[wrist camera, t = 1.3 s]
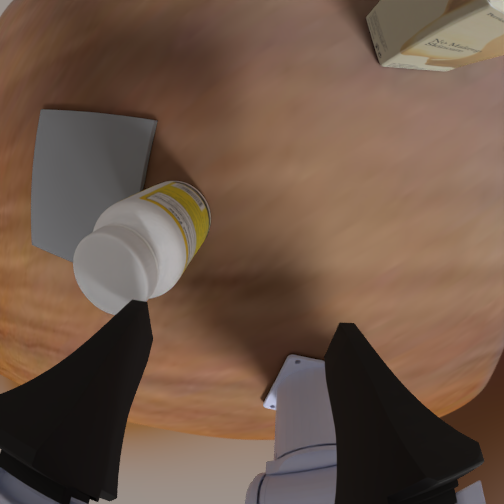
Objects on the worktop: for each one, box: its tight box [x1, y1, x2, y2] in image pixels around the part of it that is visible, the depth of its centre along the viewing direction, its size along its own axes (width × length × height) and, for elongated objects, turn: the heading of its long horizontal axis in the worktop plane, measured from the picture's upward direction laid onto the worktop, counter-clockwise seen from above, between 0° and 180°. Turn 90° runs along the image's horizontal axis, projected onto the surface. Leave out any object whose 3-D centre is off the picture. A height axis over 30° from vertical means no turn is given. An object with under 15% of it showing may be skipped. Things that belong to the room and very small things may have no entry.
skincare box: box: [366, 0, 504, 71], centre depth 8 cm, size 6×4×12 cm
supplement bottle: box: [73, 181, 211, 315], centre depth 15 cm, size 5×5×10 cm
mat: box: [31, 109, 157, 262], centre depth 19 cm, size 12×13×1 cm
